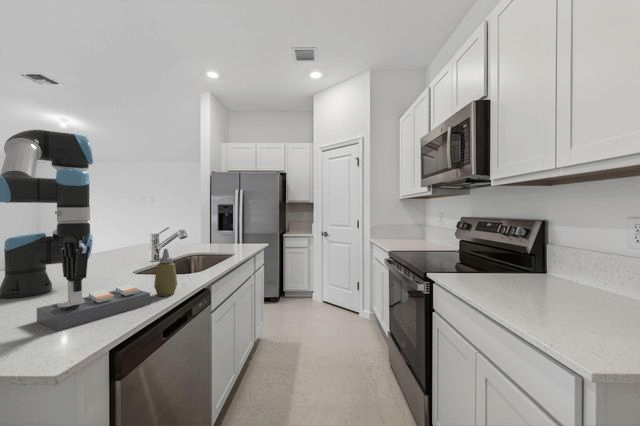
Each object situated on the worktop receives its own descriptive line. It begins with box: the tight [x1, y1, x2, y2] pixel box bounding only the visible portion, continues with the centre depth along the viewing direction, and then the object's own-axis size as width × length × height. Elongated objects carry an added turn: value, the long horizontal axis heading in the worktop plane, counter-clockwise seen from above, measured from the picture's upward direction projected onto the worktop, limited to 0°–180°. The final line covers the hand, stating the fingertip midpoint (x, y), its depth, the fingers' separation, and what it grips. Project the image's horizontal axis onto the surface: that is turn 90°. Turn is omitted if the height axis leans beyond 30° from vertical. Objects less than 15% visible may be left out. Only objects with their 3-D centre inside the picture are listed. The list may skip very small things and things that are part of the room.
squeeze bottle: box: [154, 248, 178, 297], centre depth 116 cm, size 8×8×18 cm
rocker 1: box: [56, 299, 85, 307], centre depth 88 cm, size 6×4×1 cm
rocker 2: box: [115, 284, 140, 296], centre depth 102 cm, size 6×4×1 cm
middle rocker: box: [88, 289, 114, 303], centre depth 95 cm, size 6×4×1 cm
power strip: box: [36, 289, 151, 332], centre depth 98 cm, size 20×26×5 cm
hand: (75, 301), depth 87 cm, fingers closed
